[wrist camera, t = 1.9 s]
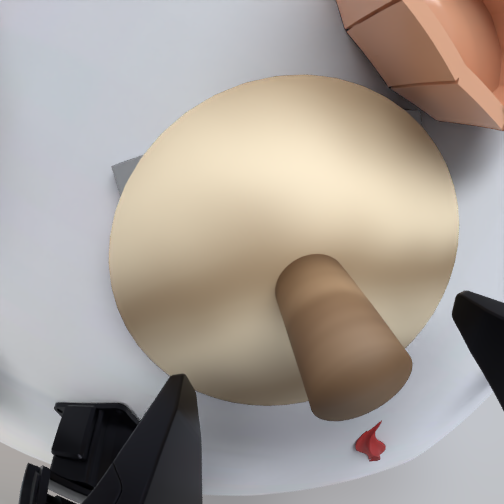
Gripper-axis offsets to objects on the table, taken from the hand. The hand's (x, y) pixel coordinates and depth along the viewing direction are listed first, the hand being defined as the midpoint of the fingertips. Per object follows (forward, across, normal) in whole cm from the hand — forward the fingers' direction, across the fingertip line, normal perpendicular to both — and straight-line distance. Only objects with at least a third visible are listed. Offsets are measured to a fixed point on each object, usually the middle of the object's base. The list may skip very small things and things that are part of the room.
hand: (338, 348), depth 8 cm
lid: (+4, 0, 0) cm, 4 cm away
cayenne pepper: (+6, -6, +23) cm, 24 cm away
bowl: (+5, -9, -11) cm, 15 cm away
